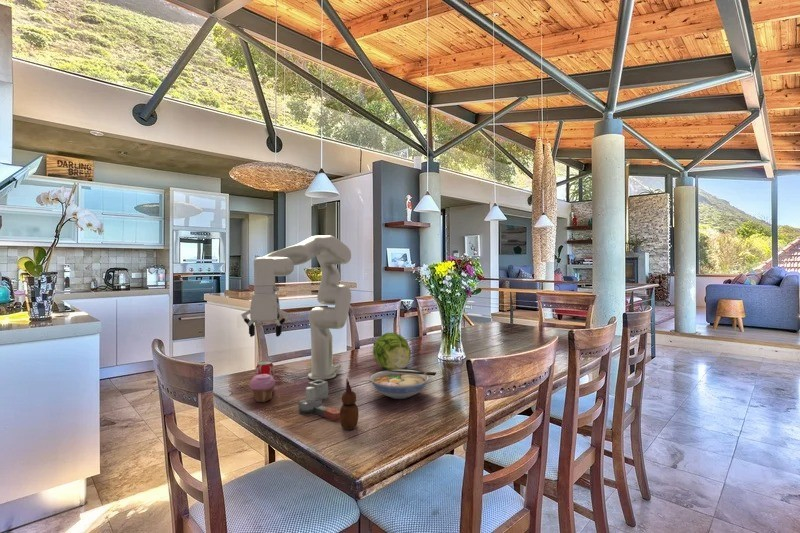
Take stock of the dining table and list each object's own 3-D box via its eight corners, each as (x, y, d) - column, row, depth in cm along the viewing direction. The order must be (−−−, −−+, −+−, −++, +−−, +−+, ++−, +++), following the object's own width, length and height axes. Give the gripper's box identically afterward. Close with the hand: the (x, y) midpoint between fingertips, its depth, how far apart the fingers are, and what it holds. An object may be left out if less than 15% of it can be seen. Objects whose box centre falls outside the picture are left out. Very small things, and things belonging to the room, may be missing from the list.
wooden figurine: (340, 423, 132) (340, 377, 132) (358, 422, 132) (358, 376, 132) (339, 432, 125) (338, 383, 125) (358, 431, 126) (357, 382, 125)
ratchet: (312, 404, 150) (312, 383, 150) (348, 416, 138) (347, 393, 138) (293, 410, 144) (293, 388, 144) (329, 423, 132) (329, 399, 132)
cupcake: (264, 405, 149) (264, 378, 149) (245, 403, 152) (244, 376, 152) (279, 398, 157) (279, 372, 157) (261, 395, 160) (260, 370, 160)
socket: (319, 394, 161) (319, 379, 161) (328, 397, 157) (327, 381, 157) (308, 398, 157) (308, 382, 157) (317, 401, 153) (317, 385, 153)
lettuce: (380, 378, 184) (388, 342, 182) (366, 359, 205) (373, 326, 204) (415, 381, 190) (423, 346, 189) (397, 362, 212) (405, 330, 210)
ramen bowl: (357, 402, 152) (357, 380, 152) (381, 384, 174) (381, 365, 173) (421, 410, 143) (421, 386, 143) (438, 390, 165) (438, 370, 165)
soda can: (268, 395, 160) (268, 365, 160) (252, 394, 162) (251, 364, 161) (277, 390, 167) (277, 360, 167) (261, 389, 168) (261, 360, 168)
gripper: (290, 289, 157) (291, 334, 157) (245, 289, 157) (246, 334, 158) (284, 290, 150) (285, 337, 150) (237, 291, 150) (238, 338, 150)
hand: (265, 336), depth 154 cm, fingers open, 9 cm apart
